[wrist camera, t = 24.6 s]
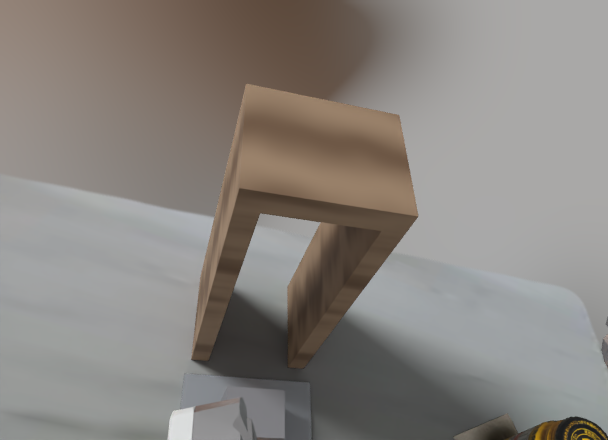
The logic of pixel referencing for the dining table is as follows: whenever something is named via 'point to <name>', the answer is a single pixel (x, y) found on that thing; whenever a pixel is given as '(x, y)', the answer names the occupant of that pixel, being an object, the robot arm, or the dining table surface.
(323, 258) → the walnut shelf
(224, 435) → the robot arm
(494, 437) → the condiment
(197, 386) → the grey mat
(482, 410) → the dining table surface
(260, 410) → the hammer with orange handle
